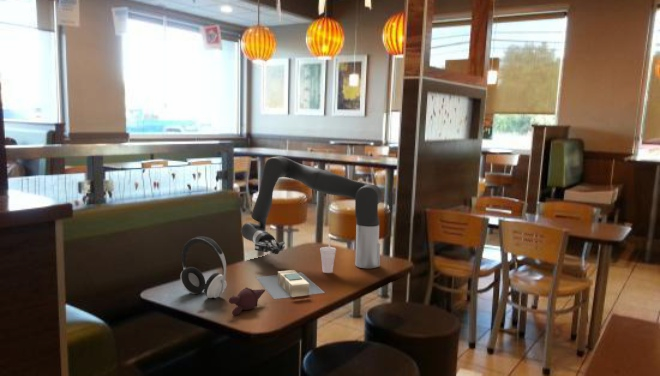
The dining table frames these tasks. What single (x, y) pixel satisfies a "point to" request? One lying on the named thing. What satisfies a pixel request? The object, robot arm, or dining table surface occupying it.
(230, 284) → the dining table surface
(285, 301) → the dining table surface
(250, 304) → the maroon rounded piece
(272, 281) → the mat
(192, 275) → the headphones
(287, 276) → the birch block
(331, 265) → the smoothie
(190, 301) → the dining table surface
